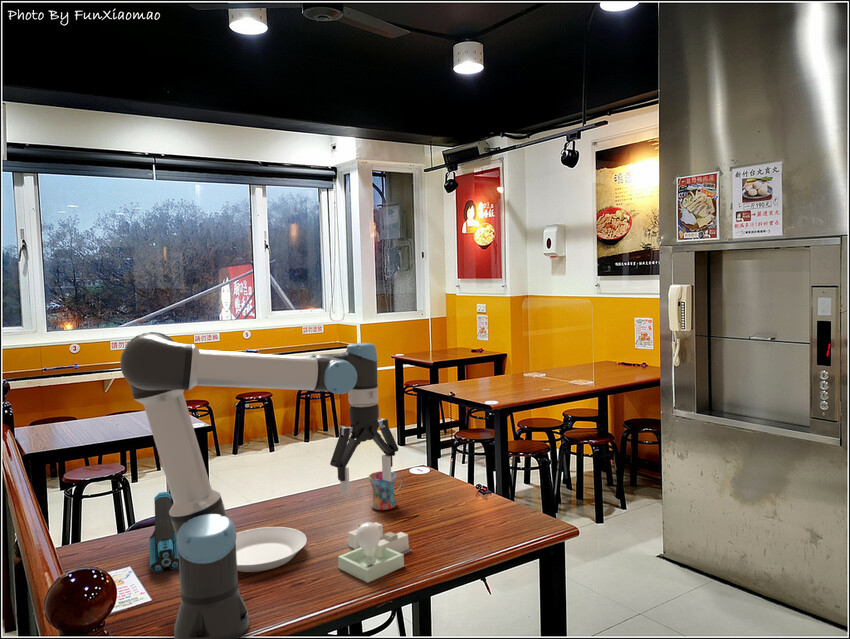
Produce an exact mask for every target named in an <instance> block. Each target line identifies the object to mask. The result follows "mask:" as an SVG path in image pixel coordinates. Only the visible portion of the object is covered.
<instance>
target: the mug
mask: <svg viewBox="0 0 850 639" xmlns="http://www.w3.org/2000/svg"><path fill="white" fill-rule="evenodd" d="M367 477H368V479H369V482H370V483H371V487H372V492H373V493H372V501H371V504H370V506H371V508H372V509H374V510H378V511H388V510H391V509H394V508H395V507H397V505H398V503H397V501H396V499H395V497H396V496H397V495H396V494H397V493H398V491H400V489H401V487H402V486H403V484H404V480H405V479H404V477H403V476H401V475H398V474H397V473H396V472H395V471H391V481H386V480H383V477H382V470H380V471H377V472H372V473H370V474H369V475H368V476H367ZM399 478H401V483H400V485H399V486H398V488H397V489H396V490H394V489H395V483H396V480H397V479H399Z"/></svg>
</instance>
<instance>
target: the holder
mask: <svg viewBox="0 0 850 639" xmlns="http://www.w3.org/2000/svg"><path fill="white" fill-rule="evenodd" d="M364 523H367V521H363V522H362V523H359V524H358V528H359V527H360V526H361V525H362V524H364ZM373 523H374V524H376V525H377V526H378V527H379V529H380V532H381V538H380V541H379V543H378V545H377V547H376V552H375V556H376V557H378V558H380V559H381V558H384V557H383V548H385V547H387V548H389V549H392V550H394V551H396V552H399V553H401V554H404V555H405V554H408V553H411V552H413V550H412V549H410V548H409V547H410V546H409V534H408V533H406V532H402V531H400V532H396V533H394V532H392V531H389V532H386V533H384V532H383V524H381V523H379V522H377V521H375V522H373ZM358 528H356V529H354V530H353V529H352V530H350V531H348V532H347V537H348V538H347V540H348V541H347V542H348V543H346V544H345V546H346V547H349V548H351V549H353V550H355V549H358V548H360V547H361V546H360V545H359V544H358V542H357V539H356V532H357V530H358Z"/></svg>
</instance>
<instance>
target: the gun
mask: <svg viewBox="0 0 850 639" xmlns="http://www.w3.org/2000/svg"><path fill="white" fill-rule="evenodd" d="M172 505H173V502H172V496H171V493H170V492H169V493H168V492H167V491H163V492H158V494H156V495H155V497H154V531H153V532H152V534H151V536H150V537H149V568H150V569H151V570H152V571H153V573H155V574H158V573H161V572H163V571H164V569H165V568H169V567H170V570H179V558H178V550H177V538H176V534H175V531H174V528H173V524H172V521H171V518H170V514H169V511H170V509H171V507H172Z"/></svg>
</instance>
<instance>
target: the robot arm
mask: <svg viewBox="0 0 850 639" xmlns="http://www.w3.org/2000/svg"><path fill="white" fill-rule="evenodd" d="M377 354H378V353H377V347H376V345H375V344H374V343H369V342H358V343H357V342H356V343H350V344H347V346H346V351H345V352H344V351H343V352H340V353H339V352H337V353H336V352H335V353H323V354H322V353H321V354H315V353H313V354H309V355H303V356H299V355H297V356H296V355H286V354H285V355H283V354H282V355H281V354H269V353H268V354H267V353H255V352H241V351H240V352H239V351H238V352H237V351H224V350H223V351H222V350H210V349H199V348H198V347H197V346H196V345H195V344H192V343H191V344H190V343H180V342H176V341H174V340H173V339H172V337H170V336H168V335H167V334H164V333H162V332H158V331H157V332H156V331H149V332H144V333H141V334H138V335H136V336H134V337H132V338H131V339H130V341H128V342H127V344H126V345H125V348H124V349H123V351H122V354H121V356H120V361H119V362H120V364H119V365H120V370H121V373H122V375H123V377H124V379H125V380H126V381H127V383H128V385H129V388H130V390H131V394H132V397H133V399H134V401H135V402H138V403H140V404H142V405H143V408H144V410H145V413H146V417H147V420H148V423H149V427H150V431H151V434H152V436H153V441H154V444H155V447H156V450H157V452H158V453H157V454H158V456H159V460H160V463H161V467H162V469H163V472H164V476H165V479H166V484H167V485H168V489H169V494H170V495H171V500H172V501H173V502H172V507H171V509H170V511H169V514H170V518H171V521H172V524H173V528H174V531H175V534H176V538H177V550H178V558H179V568H178V570H179V573H178V575H179V588H180V590H179V591H180V604H179V607H178V612H177V616H176V619H175V623H174V626H173V627H174V628H173V633H174V634H173V635H174V638H173V639H239V638H240V637H242V636H243V635H244V634H245V633H246V632H247V630H248V628H249V625H250V620H249V618H250V617H249V612H248V611H249V610H248V608H247V606H246V604H245V601H244V599H243V597H242V595H241V592H240V590H239V578H238V577H239V576H238V575H239V574H238V573H239V572H238V571H237V556H236V533H237V531H236V529H235V524H234V522H233V520H232V519H231V518H229V516H228V514H227V512H226V508H225V505H224V502H223V500H222V496H221V493H220V492H219V491H216V490H214V489H212V485H211V482H210V479H209V476H208V472H207V469H206V466H205V462H204V459H203V455H202V452H201V448H200V445H199V442H198V439H197V435H196V432H195V431H196V430H195V429H194V424H193V421H192V418H191V415H190V412H189V408H188V406H187V404H188V403H187V401H186V398H185V394H184V391H190V390H192V389H193V388H195V387H196V386H201V387H223V388H224V387H225V388H243V389H244V388H245V389H246V388H248V389H249V388H250V389H251V388H252V389H272V390H273V389H275V390H291V391H292V390H294V391H299V390H300V391H313V392H330V393H332V394H335V395H336V394H337V395H343V394H347V393H348V403H349V404H350V405H349V407H348V415H349V418H348V419H349V420H350V426H347V427H346V426H344V425H343V426H340V427H339V436H338V438H337V442H336V445H335V448H334V451H333V453H332V456H331V460H330V462H329V465H330V466H331V467H335V468H336V469H337V480H338V481H340V493H342V494H345V495H350V494H351V493H350V468H349V467H347V465H348V464H349V463H350V460H351V458H352V456H353V454H354V453H355V451H356V449H357V447H358V446H359V445H361V443H363V442H367V441H374V443H375V444H376V445H377V447H379V449H380V450H381V451H382V452H383V454H382V455H381V471H382V477H383V480H386V481H391V472H392V467H393V464H394V463H393V457H394V456H396V452H398V451H399V446H398V445H397V442H396V440H395V438H394V436H393V433H392V430H391V429H390V427H389V420H388V419H386V418H381V417H380V411H379V410H380V406H379V404H378V403H379V385H378V380H379V379H378V355H377ZM378 429H379V430H380V433H381V434H382V435H381V434H380V433H379V431H378ZM382 436H383V437H382ZM383 438H384V439H383Z"/></svg>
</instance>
